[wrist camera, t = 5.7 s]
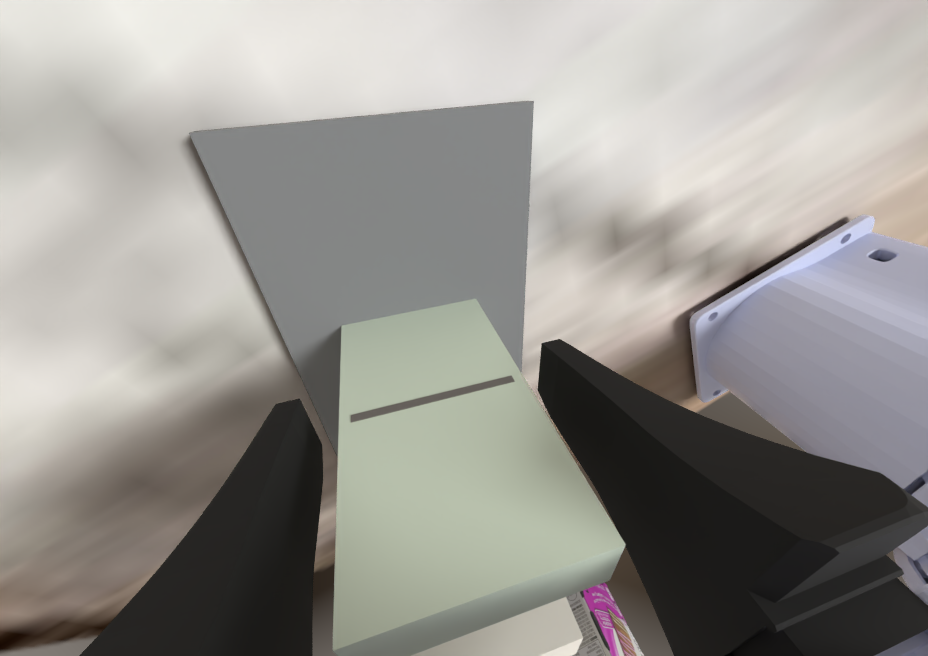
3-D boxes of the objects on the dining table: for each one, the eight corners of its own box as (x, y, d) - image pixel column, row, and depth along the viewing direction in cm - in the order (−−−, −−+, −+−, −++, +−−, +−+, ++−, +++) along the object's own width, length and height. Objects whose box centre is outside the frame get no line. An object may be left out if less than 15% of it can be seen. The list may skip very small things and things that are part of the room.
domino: (374, 425, 16) (396, 712, 8) (481, 398, 16) (583, 637, 9) (381, 448, 16) (407, 723, 9) (482, 421, 17) (575, 654, 10)
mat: (194, 131, 9) (188, 133, 8) (527, 100, 10) (533, 101, 10) (411, 613, 30) (411, 619, 29) (510, 578, 31) (512, 583, 31)
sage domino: (341, 325, 12) (332, 650, 5) (476, 298, 13) (626, 543, 6) (353, 360, 13) (358, 675, 6) (477, 332, 14) (609, 580, 7)
